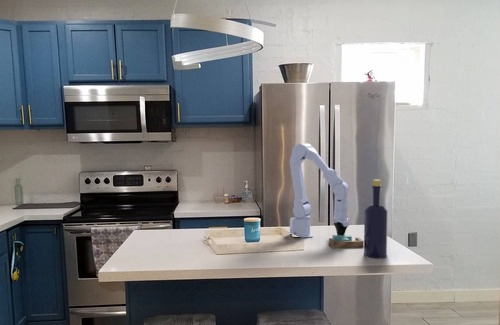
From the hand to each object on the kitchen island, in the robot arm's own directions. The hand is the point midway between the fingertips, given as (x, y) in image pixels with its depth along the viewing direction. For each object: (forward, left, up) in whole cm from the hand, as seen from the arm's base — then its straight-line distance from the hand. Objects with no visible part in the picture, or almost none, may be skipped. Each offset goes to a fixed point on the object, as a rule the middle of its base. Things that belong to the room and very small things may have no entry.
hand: (340, 238), depth 167 cm
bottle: (+7, -21, -1) cm, 22 cm away
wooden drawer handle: (0, -7, -1) cm, 7 cm away
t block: (0, -5, -1) cm, 5 cm away
